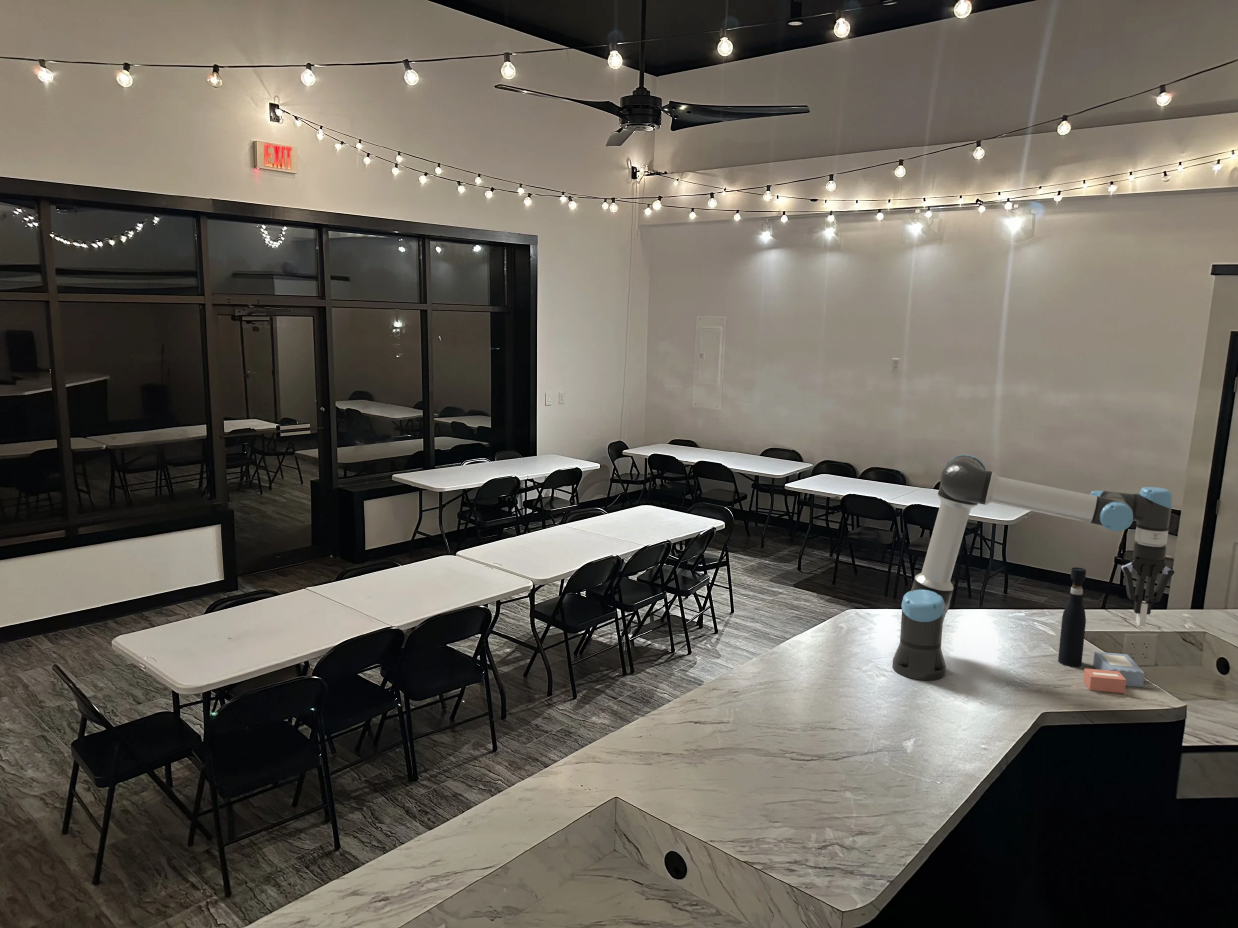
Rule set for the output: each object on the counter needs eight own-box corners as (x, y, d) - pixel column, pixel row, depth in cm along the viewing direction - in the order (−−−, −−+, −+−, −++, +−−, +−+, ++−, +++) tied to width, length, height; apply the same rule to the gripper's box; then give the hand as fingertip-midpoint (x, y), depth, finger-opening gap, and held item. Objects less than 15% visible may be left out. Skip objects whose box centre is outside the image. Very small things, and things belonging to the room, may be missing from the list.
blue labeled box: (1108, 683, 239) (1109, 669, 239) (1092, 664, 253) (1094, 651, 252) (1142, 686, 237) (1144, 672, 237) (1125, 667, 251) (1127, 654, 250)
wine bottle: (1085, 667, 251) (1095, 572, 246) (1064, 666, 251) (1073, 572, 246) (1074, 658, 257) (1083, 566, 252) (1054, 658, 257) (1062, 565, 253)
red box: (1089, 689, 235) (1091, 676, 234) (1083, 681, 241) (1084, 667, 240) (1124, 693, 233) (1126, 679, 232) (1117, 684, 238) (1118, 670, 238)
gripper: (1129, 545, 226) (1119, 627, 230) (1182, 548, 223) (1171, 631, 227) (1119, 538, 233) (1110, 617, 237) (1171, 541, 230) (1161, 622, 234)
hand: (1140, 624), depth 232 cm, fingers closed
